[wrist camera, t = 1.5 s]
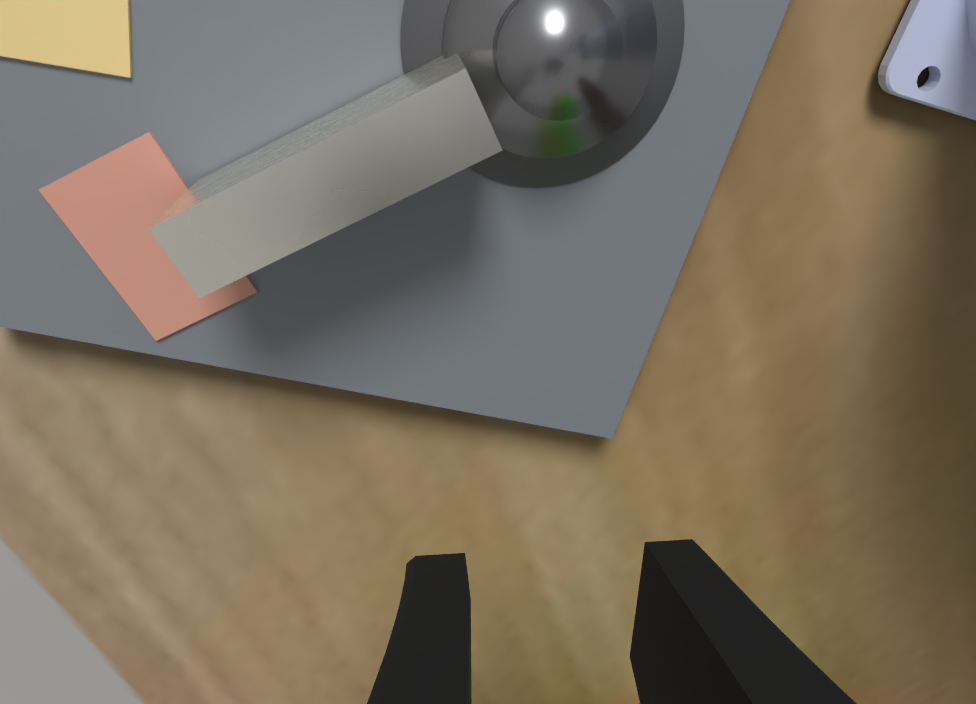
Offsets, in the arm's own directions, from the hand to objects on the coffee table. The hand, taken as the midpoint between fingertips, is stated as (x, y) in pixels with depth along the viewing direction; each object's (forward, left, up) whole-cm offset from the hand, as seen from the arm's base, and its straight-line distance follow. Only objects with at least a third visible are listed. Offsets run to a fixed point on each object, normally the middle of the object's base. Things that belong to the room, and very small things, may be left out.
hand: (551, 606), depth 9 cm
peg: (+3, -4, -9) cm, 10 cm away
